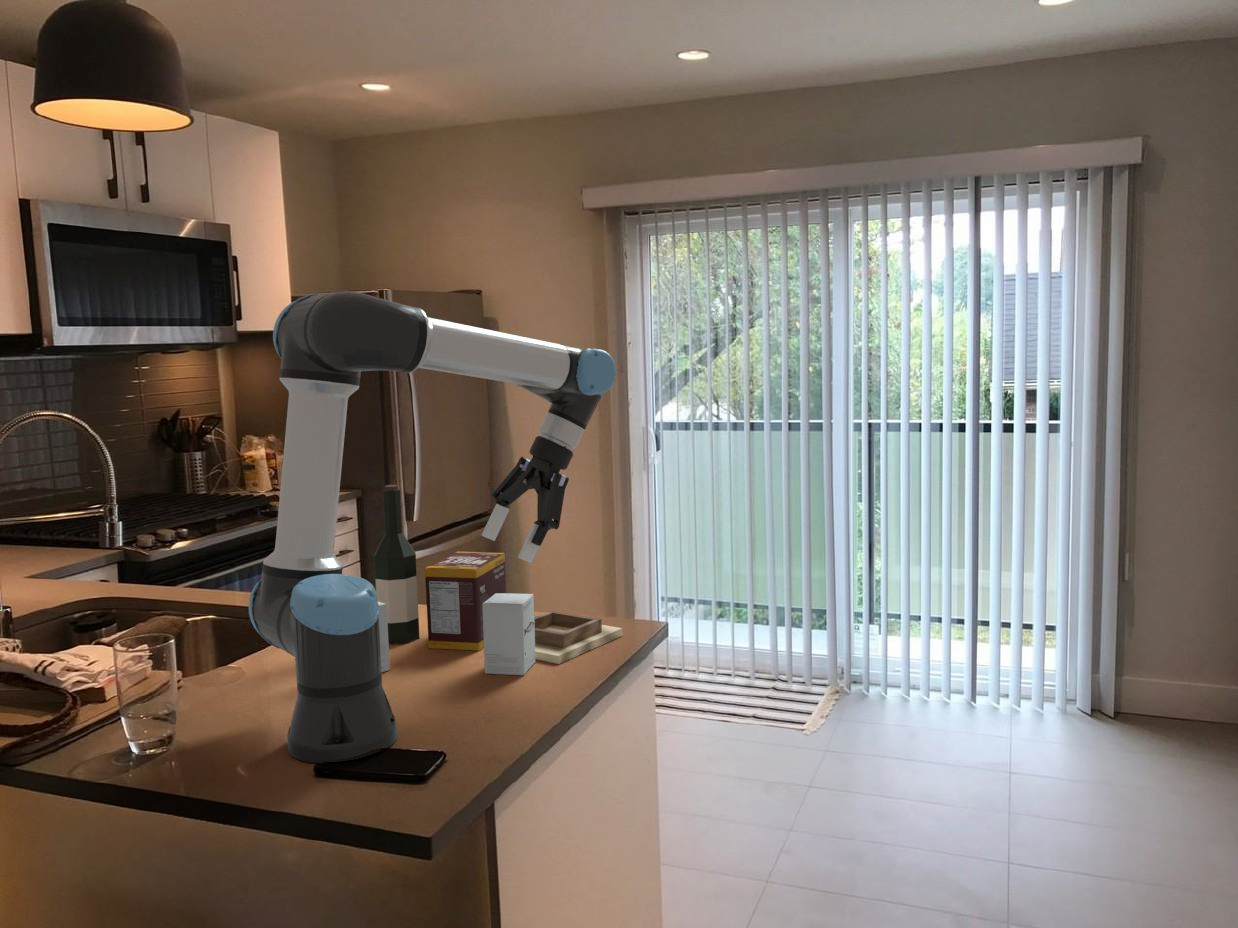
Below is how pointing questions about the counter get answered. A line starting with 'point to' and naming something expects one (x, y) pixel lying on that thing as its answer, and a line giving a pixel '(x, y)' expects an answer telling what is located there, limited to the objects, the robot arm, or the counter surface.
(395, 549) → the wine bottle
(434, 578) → the supplement box
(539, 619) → the dock
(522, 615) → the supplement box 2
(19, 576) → the counter surface
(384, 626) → the skincare box
